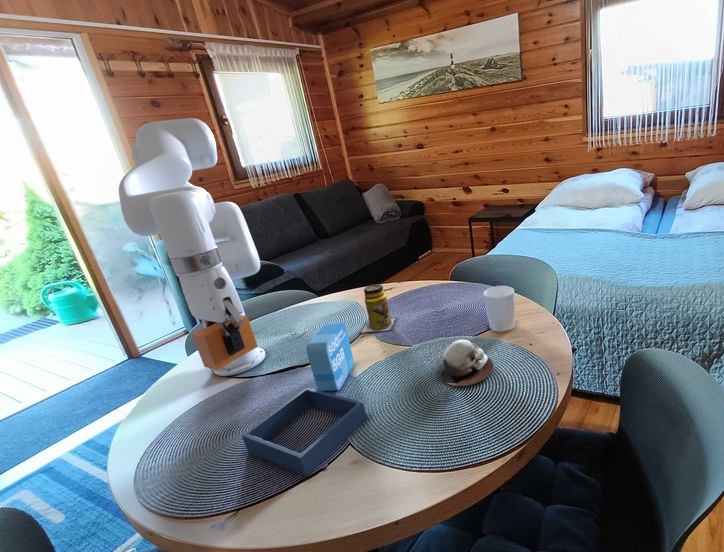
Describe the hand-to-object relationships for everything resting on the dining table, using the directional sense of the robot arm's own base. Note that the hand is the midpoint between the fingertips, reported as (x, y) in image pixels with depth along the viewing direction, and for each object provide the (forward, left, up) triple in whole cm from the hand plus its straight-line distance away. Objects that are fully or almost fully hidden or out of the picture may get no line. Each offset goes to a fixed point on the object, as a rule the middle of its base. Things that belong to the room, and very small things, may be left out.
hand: (229, 349), depth 84 cm
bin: (+16, 0, -16) cm, 23 cm away
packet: (0, 0, -2) cm, 2 cm away
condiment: (-1, +42, -16) cm, 45 cm away
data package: (+7, +17, -16) cm, 25 cm away
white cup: (+34, +51, -16) cm, 64 cm away
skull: (+35, +29, -16) cm, 49 cm away
